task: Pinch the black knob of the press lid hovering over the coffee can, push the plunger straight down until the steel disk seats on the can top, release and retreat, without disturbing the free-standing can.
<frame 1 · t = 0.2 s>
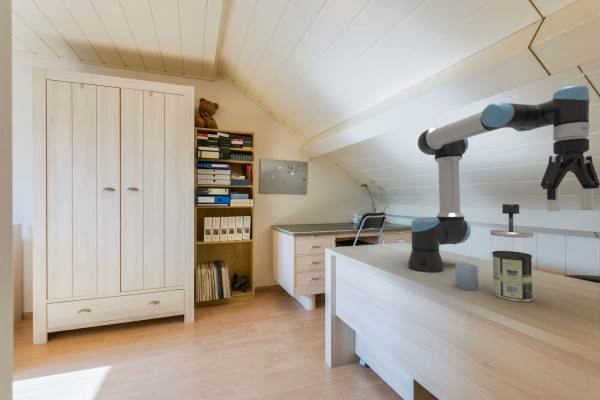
hand: (570, 210, 80), 28 cm above the table, fingers open, 13 cm apart
frosted blue tumbler: (466, 287, 97), on the table
coffee can: (511, 296, 88), on the table
plunger: (510, 219, 88), point 25 cm above the table, slide at 0.0 cm
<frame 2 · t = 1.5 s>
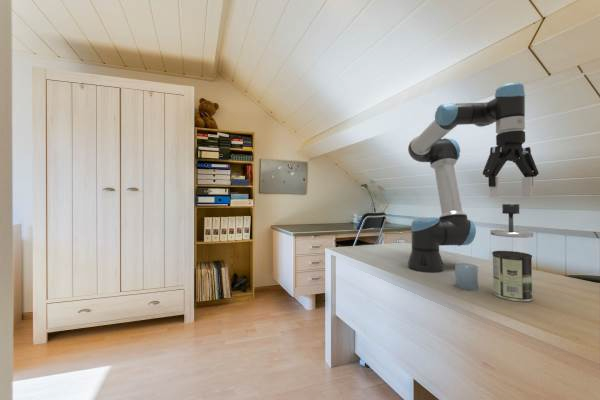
hand: (511, 197, 88), 33 cm above the table, fingers open, 13 cm apart
nothing on the table moved.
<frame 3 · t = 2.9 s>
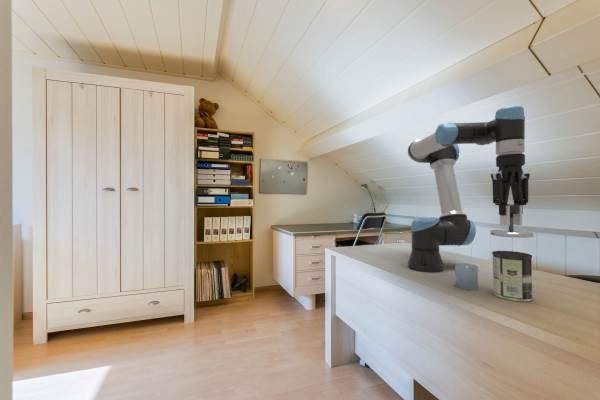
hand: (510, 225, 88), 23 cm above the table, fingers closed on plunger, 4 cm apart
plunger: (510, 219, 88), point 25 cm above the table, slide at 0.0 cm, touching gripper
everything else where it was.
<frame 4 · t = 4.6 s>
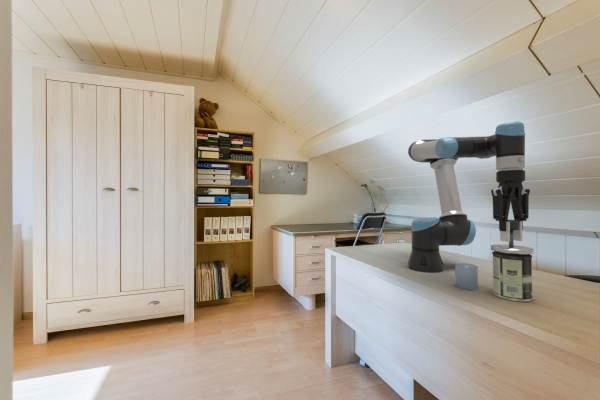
hand: (511, 240, 88), 18 cm above the table, fingers closed on plunger, 4 cm apart
plunger: (511, 235, 88), point 20 cm above the table, slide at 5.2 cm, touching gripper
everything else where it was.
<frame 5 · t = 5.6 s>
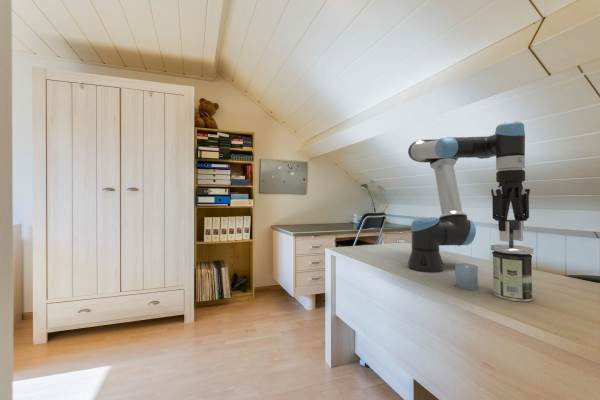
hand: (511, 240, 88), 18 cm above the table, fingers open, 5 cm apart
plunger: (511, 235, 88), point 20 cm above the table, slide at 5.2 cm
everything else where it was.
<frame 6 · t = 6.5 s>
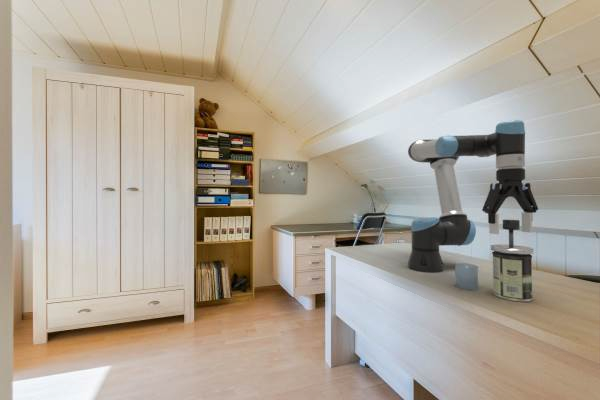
hand: (510, 232, 88), 21 cm above the table, fingers open, 13 cm apart
nothing on the table moved.
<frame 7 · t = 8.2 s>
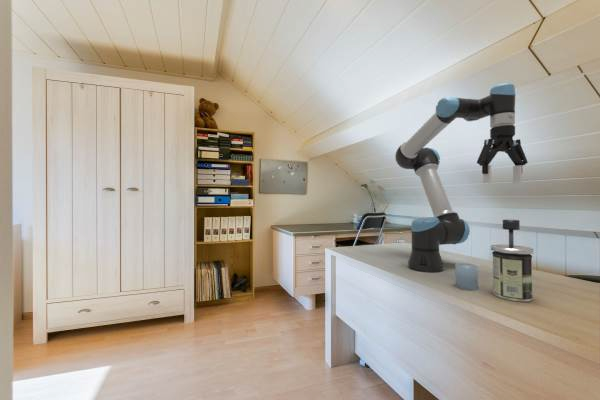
hand: (502, 182, 101), 38 cm above the table, fingers open, 13 cm apart
nothing on the table moved.
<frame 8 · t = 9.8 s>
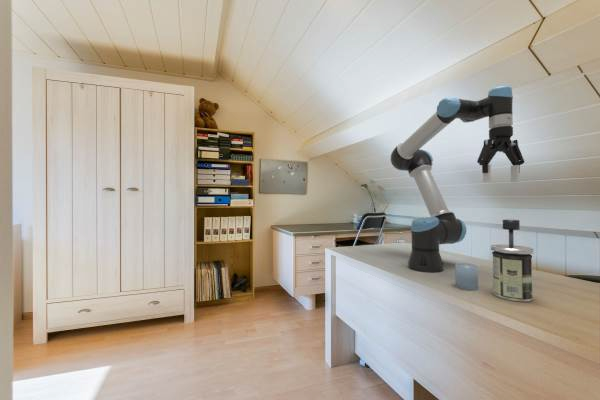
hand: (501, 181, 104), 39 cm above the table, fingers open, 13 cm apart
nothing on the table moved.
at the end: plunger slide at 5.2 cm; coffee can tilted 0°; coffee can moved 0.2 cm from its start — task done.
